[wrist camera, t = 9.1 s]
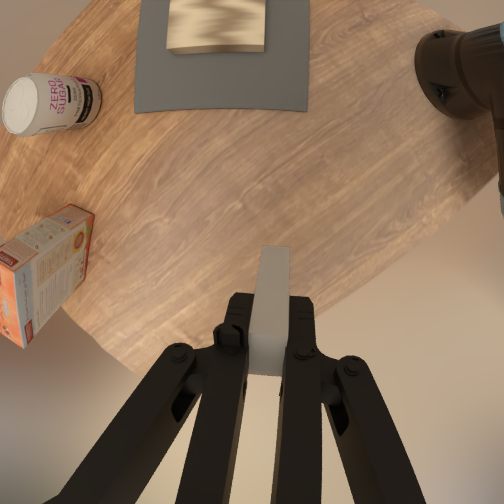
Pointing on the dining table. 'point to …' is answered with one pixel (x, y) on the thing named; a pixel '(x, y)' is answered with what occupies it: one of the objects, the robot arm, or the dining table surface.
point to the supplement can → (49, 104)
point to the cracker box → (42, 271)
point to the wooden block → (215, 26)
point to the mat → (224, 66)
